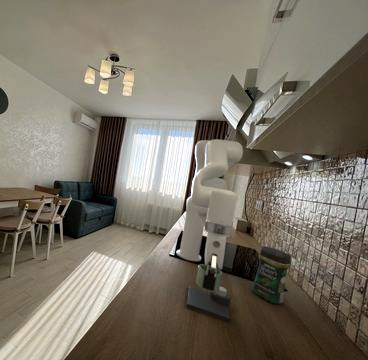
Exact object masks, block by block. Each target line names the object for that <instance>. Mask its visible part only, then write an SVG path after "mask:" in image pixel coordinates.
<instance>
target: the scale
mask: <svg viewBox="0 0 368 360" xmlns="http://www.w3.org/2000/svg"><path fill="white" fill-rule="evenodd" d="M215 292H216V291H215ZM215 292H212V291H207V290H203V289H199V288H196V287H193V286H190V285H189V286H188V293H187V299H186V308H188V309H190V310H193V311H196V312H198V313H201V314H205V315H207V316H210V317H213V318H216V319H219V320H221V321H225V322H226V323H231V316H230V313H229V307H228V305H229V304H230V303H231V299H232V296H231V295H230V294H229V292H228V291H227V292H226V297H222V296H219V295H217V294H216V293H215Z"/></svg>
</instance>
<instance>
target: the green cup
mask: <svg viewBox="0 0 368 360" xmlns="http://www.w3.org/2000/svg"><path fill="white" fill-rule="evenodd" d="M206 269H207V266H206V265H205V263H203V264H202V263H200V264H198V267H197V272H196V278H195V283H196V285H197V286H198V287H199V288H201V289H202V290H204V291H206V292H211V290H208V289H205V288H203V281H204V275H205V274H206ZM209 269H210V268H209ZM222 276H223V271H222V270H220V269H219V268H217V272H216V281H215V287H214V291H212V292H215V291H218V290H219V288H220V286H221V283H222Z"/></svg>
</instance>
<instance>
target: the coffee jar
mask: <svg viewBox="0 0 368 360" xmlns="http://www.w3.org/2000/svg"><path fill="white" fill-rule="evenodd" d="M258 259H259V265H258V268H257V272H256V276H255V277H254V281H253V284H252V288H251V290H252V293H254V294H255V295H257V296H258V297H260V298H261V299H262V300H265V301H266V302H269V303H270V304H275V305H280V304H283V302H284V299H285V287H286V280H287V273H288V270H289V269H290V267H291V265H292V260H291V259H292V255H291V254H290V253H288V252H286V251H283V250H280V249H277V248H275V247H272V246H268V245H267V246H266V245H264V246H262V247H261V248H260V250H259V253H258Z"/></svg>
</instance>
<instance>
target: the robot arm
mask: <svg viewBox="0 0 368 360" xmlns="http://www.w3.org/2000/svg"><path fill="white" fill-rule="evenodd" d="M243 153H244V149H243V146H242V144H241V143H240V142H238V141H232V140H225V139H217V138H215V139H211V140H208V139H207V140H206V139H204V140H198V141H197V143H196V144H195V148H194V157H195V163H196V167H195V172H194V177H193V179H192V183H191V191H190V192H191V193H190V196H189V197H187V199H186V204H185V205H186V206H185V207H186V208H185V209H186V210H185V219H184V225H183V230H182V237H181V242H180V246H179V247H180V248H179V249H177V250H176V252H175V253H176V256H178V257H180V258H182V259H183V260H185V261H191V262H201V261H202V256H201V255H200V250H201V245H202V240H203V234H204V232H206V233H207V236H206V242H205V248H204V264H205V265H206V266H207V269H206V274H205V275H204V281H203V288H205V289H208V290H211V291H214V287H215V281H216V272H217V269H219V270H220V271H222V270H223V265H224V260H225V252H226V246H227V245H226V244H227V238H229V237H231V233H232V232H231V231H232V226H233V222H234V221H233V220H234V216H235V211H236V206H237V205H236V204H237V199H238V195H237V193H236V192H234V191H233V190H229V189H228V188H227V187H228V185H227V181H226V180H225V179H223V178H222V177H223V176H225V175H226V174H227V173H228V171H229V163H238V162H240V161H241V160H242V157H243ZM220 177H221V178H220ZM201 217H206V218H205V223H204V221H203V219H202V218H201ZM209 268H210V269H209ZM203 288H202V289H203ZM205 289H204V290H205ZM211 291H210V292H211Z"/></svg>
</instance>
